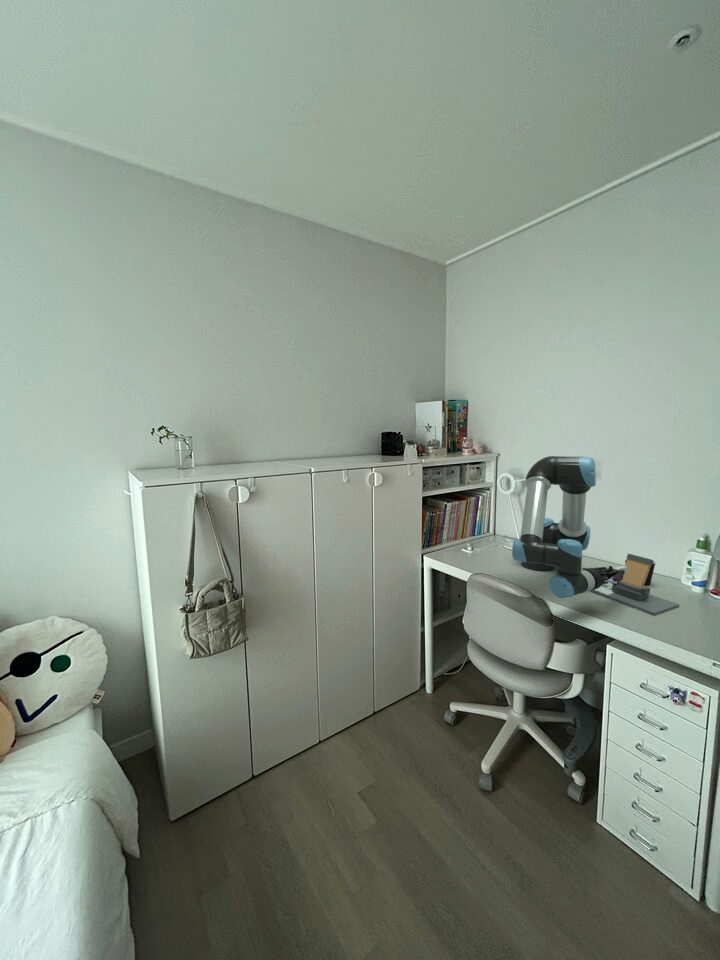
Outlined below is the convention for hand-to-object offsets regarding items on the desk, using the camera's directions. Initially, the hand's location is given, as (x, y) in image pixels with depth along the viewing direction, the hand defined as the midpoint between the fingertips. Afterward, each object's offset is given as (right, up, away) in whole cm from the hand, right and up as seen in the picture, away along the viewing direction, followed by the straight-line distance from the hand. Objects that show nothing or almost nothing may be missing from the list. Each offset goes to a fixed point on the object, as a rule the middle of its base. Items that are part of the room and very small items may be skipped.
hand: (625, 569), depth 149 cm
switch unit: (+4, -12, +4) cm, 13 cm away
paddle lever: (+4, -7, +3) cm, 9 cm away
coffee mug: (+20, -10, +20) cm, 30 cm away
